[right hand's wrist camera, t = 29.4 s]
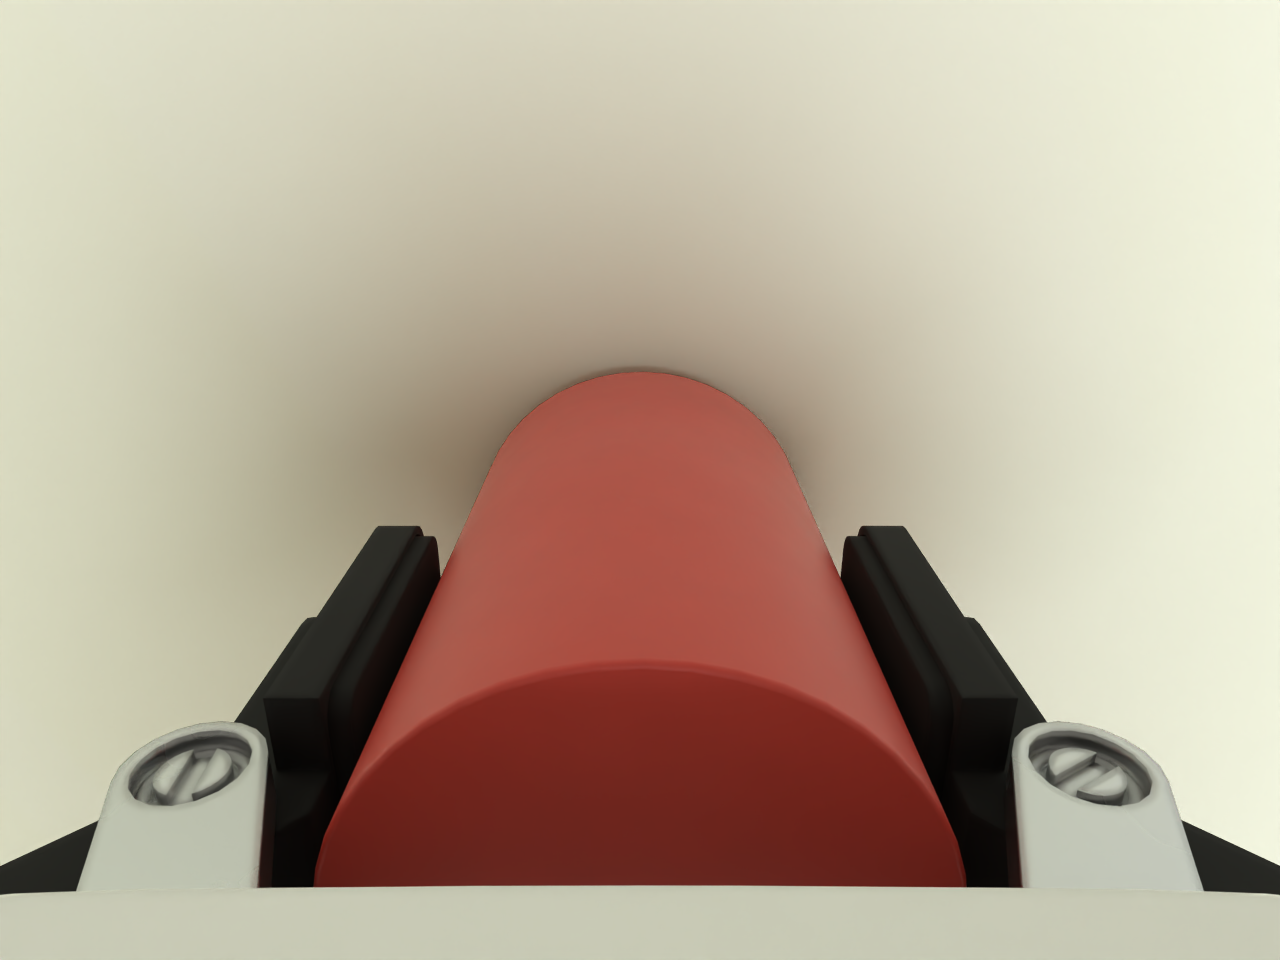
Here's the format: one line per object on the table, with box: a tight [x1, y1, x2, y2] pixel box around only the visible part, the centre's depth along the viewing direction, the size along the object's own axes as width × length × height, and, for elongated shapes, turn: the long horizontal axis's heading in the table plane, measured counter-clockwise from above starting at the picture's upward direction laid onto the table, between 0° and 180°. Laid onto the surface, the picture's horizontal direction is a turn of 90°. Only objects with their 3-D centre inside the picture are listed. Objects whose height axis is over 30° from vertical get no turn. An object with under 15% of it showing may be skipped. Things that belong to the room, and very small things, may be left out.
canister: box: [314, 372, 967, 887], centre depth 11 cm, size 5×5×8 cm
